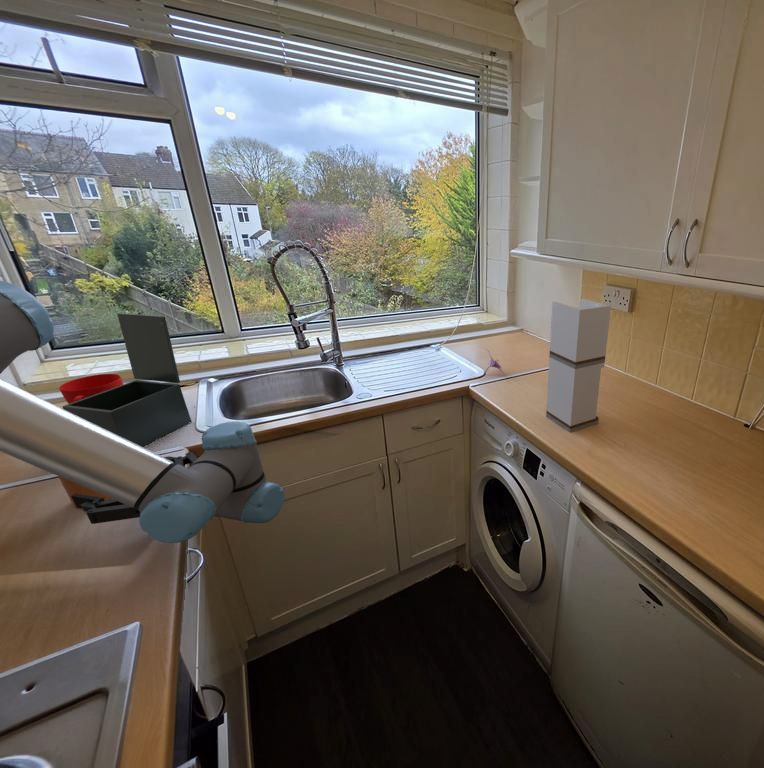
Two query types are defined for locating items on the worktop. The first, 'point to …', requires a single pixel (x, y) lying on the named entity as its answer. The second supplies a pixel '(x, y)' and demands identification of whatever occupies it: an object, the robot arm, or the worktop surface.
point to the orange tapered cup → (79, 490)
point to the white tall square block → (576, 362)
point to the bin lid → (149, 347)
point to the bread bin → (136, 410)
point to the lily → (494, 364)
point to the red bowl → (89, 386)
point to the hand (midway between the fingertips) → (114, 479)
